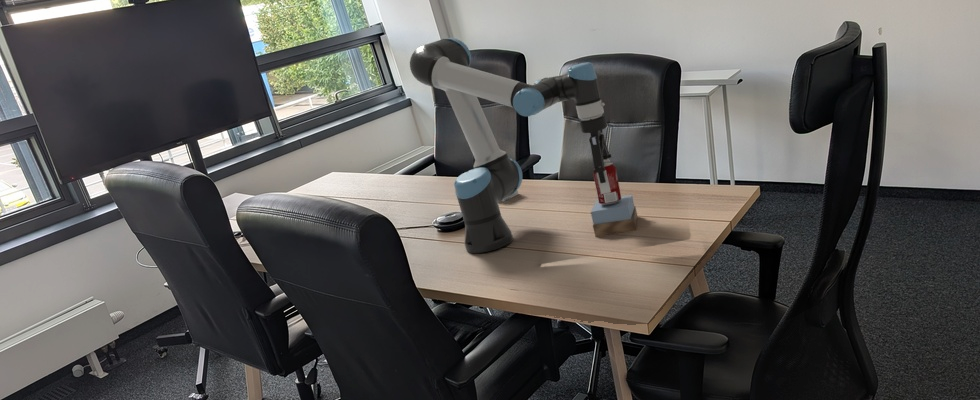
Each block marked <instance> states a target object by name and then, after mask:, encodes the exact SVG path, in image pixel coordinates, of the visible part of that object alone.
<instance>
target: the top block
mask: <svg viewBox="0 0 980 400" xmlns="http://www.w3.org/2000/svg"><path fill="white" fill-rule="evenodd" d="M635 207H636V205H635V202H634V197H633V194H626V195H621V200H620V201H619V202H618V203H616V204H613V205H608V206H604V205H602V204H599V202H598V199H597V200H595V202H594V204H593V206H592V207H591V210H590V216H591V220H592V225H593V224H594V225H595V224H601V223H608V222H614V221H621V220H627V219H631V217H632V214H633V211H634V208H635Z"/></svg>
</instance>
